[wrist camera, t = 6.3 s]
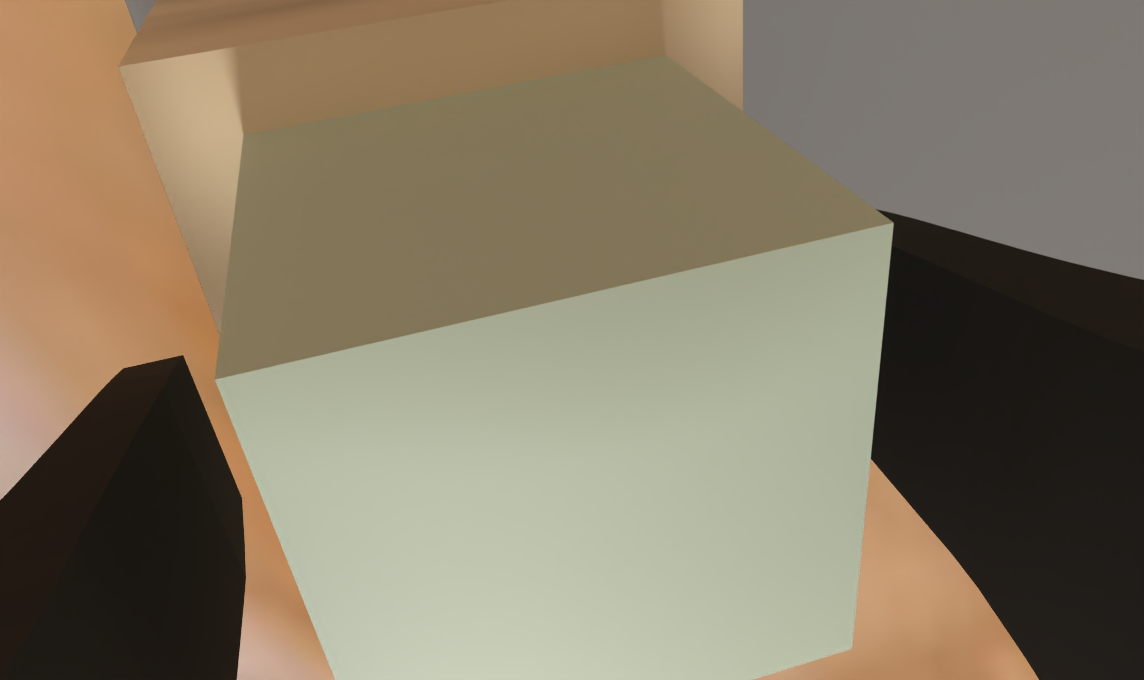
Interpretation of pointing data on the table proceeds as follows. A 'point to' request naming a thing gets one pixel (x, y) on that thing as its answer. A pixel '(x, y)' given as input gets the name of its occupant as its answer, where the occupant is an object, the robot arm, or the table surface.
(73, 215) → the table surface
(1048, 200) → the mat
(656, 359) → the sage cube
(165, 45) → the base block
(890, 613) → the table surface
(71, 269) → the table surface
